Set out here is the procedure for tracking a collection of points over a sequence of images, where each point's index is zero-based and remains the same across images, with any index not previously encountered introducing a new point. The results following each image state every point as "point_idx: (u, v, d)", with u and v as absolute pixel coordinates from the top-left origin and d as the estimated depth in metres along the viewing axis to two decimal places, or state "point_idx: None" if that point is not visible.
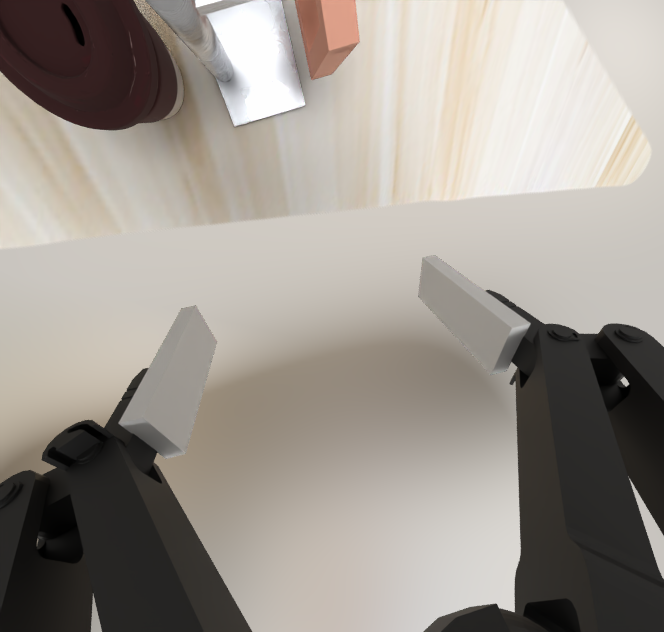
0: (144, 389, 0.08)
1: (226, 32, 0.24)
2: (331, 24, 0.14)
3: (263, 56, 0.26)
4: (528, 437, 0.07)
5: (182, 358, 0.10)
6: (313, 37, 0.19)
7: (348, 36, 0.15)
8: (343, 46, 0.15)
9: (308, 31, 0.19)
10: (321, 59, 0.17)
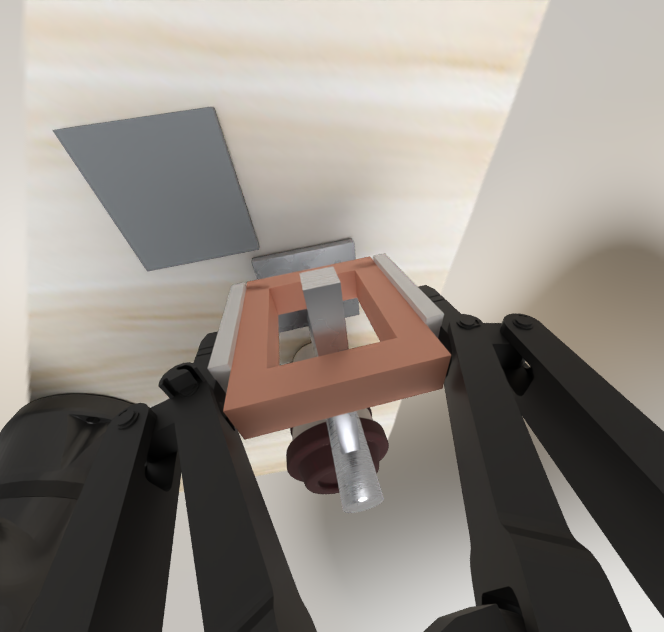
0: (221, 344, 0.10)
1: None
2: (419, 388, 0.09)
3: None
4: (458, 424, 0.08)
5: None
6: (343, 291, 0.15)
7: (439, 369, 0.09)
8: (444, 371, 0.09)
9: None
10: None
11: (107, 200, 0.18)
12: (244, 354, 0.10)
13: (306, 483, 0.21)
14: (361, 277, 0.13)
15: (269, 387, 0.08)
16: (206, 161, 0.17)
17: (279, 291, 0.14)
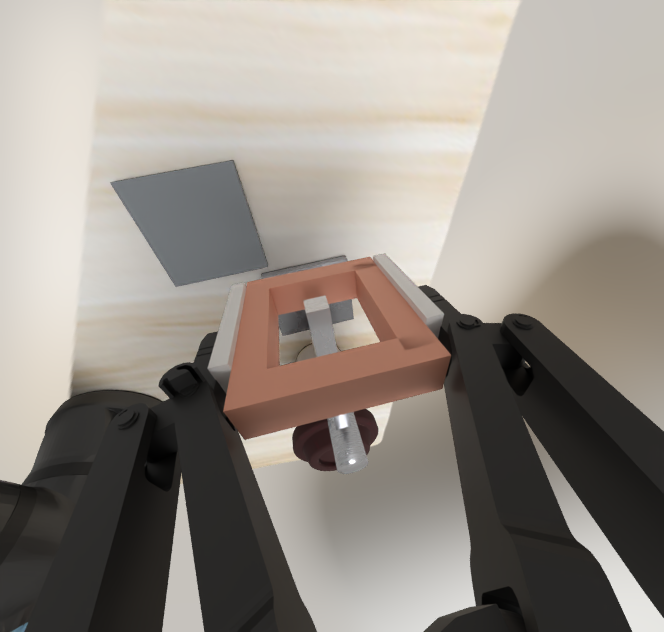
0: (221, 344, 0.10)
1: (298, 315, 0.31)
2: (419, 388, 0.09)
3: None
4: (458, 424, 0.08)
5: None
6: (343, 291, 0.15)
7: (439, 369, 0.09)
8: (444, 371, 0.09)
9: (338, 297, 0.15)
10: None
11: (147, 232, 0.22)
12: (244, 354, 0.10)
13: (309, 460, 0.25)
14: (361, 277, 0.13)
15: (269, 387, 0.08)
16: (226, 200, 0.22)
17: (279, 292, 0.14)
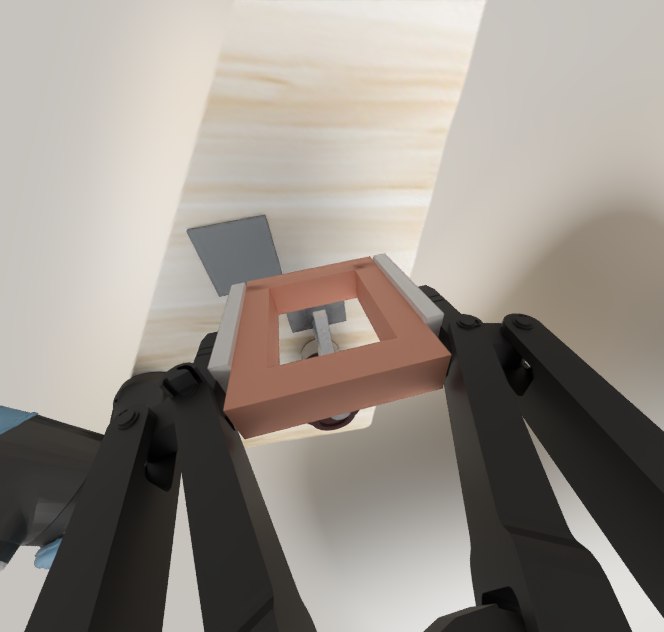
0: (221, 344, 0.10)
1: (305, 317, 0.41)
2: (419, 388, 0.09)
3: None
4: (458, 424, 0.08)
5: None
6: (343, 291, 0.15)
7: (439, 369, 0.09)
8: (444, 371, 0.09)
9: (338, 296, 0.15)
10: None
11: (205, 261, 0.33)
12: (244, 354, 0.10)
13: None
14: (361, 277, 0.13)
15: (269, 387, 0.08)
16: (259, 240, 0.32)
17: (279, 291, 0.14)
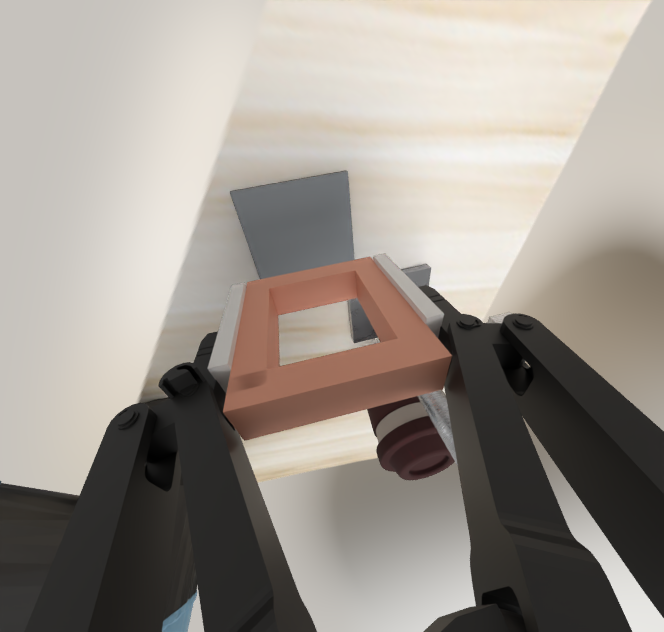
0: (221, 344, 0.10)
1: None
2: (420, 389, 0.09)
3: None
4: (458, 424, 0.08)
5: None
6: (344, 291, 0.15)
7: (440, 370, 0.09)
8: (445, 372, 0.09)
9: (338, 297, 0.15)
10: None
11: (252, 241, 0.22)
12: (244, 355, 0.10)
13: (401, 470, 0.25)
14: (361, 277, 0.13)
15: (269, 388, 0.08)
16: (333, 210, 0.22)
17: (279, 292, 0.14)
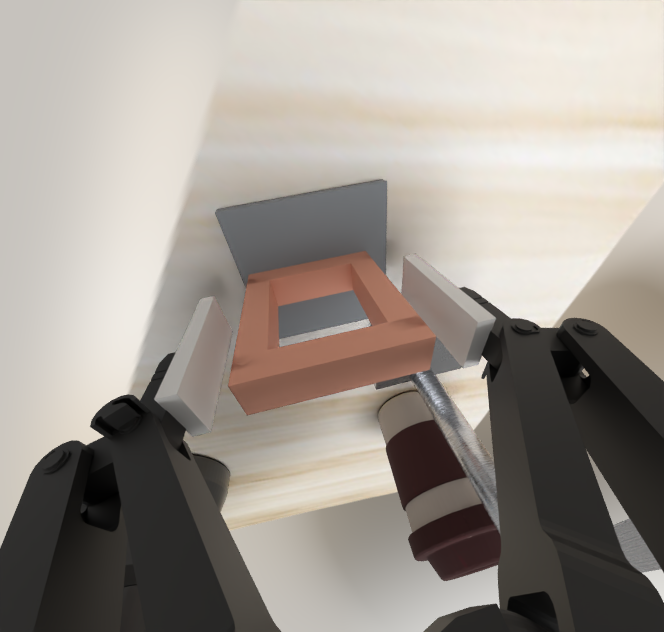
0: (174, 370, 0.09)
1: None
2: (408, 369, 0.10)
3: None
4: (501, 430, 0.07)
5: (205, 344, 0.11)
6: (340, 284, 0.16)
7: (425, 350, 0.10)
8: None
9: (335, 289, 0.16)
10: None
11: None
12: (246, 338, 0.11)
13: (446, 576, 0.19)
14: (356, 269, 0.14)
15: (270, 365, 0.09)
16: (362, 234, 0.16)
17: (279, 283, 0.15)
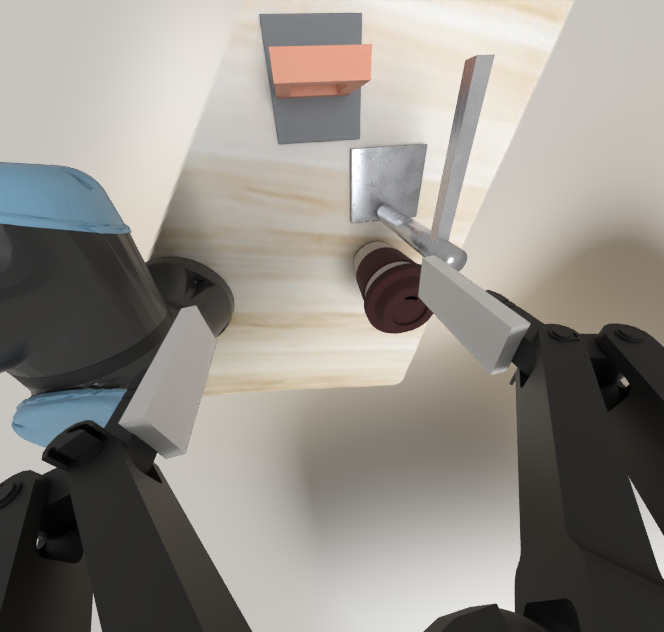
0: (144, 389, 0.08)
1: (371, 201, 0.34)
2: (358, 73, 0.19)
3: (389, 175, 0.32)
4: (528, 437, 0.07)
5: (182, 358, 0.10)
6: (330, 86, 0.25)
7: (367, 56, 0.19)
8: (370, 63, 0.19)
9: (326, 90, 0.25)
10: (360, 85, 0.22)
11: None
12: None
13: (385, 307, 0.28)
14: None
15: None
16: None
17: None
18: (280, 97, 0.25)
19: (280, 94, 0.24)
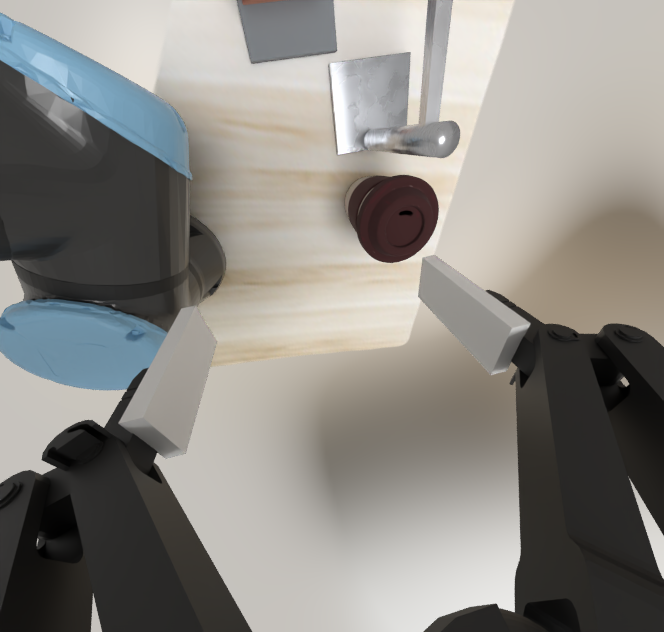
0: (144, 389, 0.08)
1: (356, 127, 0.32)
2: None
3: (372, 94, 0.30)
4: (528, 437, 0.07)
5: (182, 358, 0.10)
6: None
7: None
8: None
9: None
10: None
11: None
12: None
13: (378, 224, 0.26)
14: None
15: None
16: None
17: None
18: (246, 0, 0.24)
19: None
